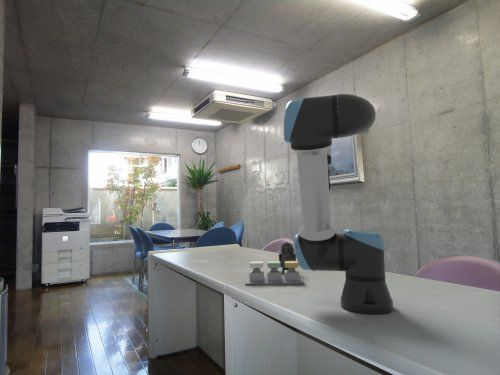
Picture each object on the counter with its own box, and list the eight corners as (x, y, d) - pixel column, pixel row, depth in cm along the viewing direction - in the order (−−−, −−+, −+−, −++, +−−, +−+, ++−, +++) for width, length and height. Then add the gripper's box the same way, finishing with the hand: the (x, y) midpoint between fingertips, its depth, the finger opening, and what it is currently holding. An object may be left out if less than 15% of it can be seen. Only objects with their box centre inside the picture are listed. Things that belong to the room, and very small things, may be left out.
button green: (280, 272, 141) (280, 261, 141) (280, 275, 135) (280, 263, 136) (267, 272, 141) (267, 261, 141) (267, 275, 135) (267, 263, 136)
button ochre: (297, 272, 140) (297, 260, 141) (298, 274, 135) (298, 262, 135) (285, 272, 140) (284, 261, 141) (285, 275, 135) (285, 263, 135)
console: (300, 277, 145) (300, 268, 145) (304, 285, 129) (304, 274, 129) (247, 277, 146) (247, 268, 147) (245, 285, 131) (245, 275, 131)
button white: (263, 272, 141) (263, 261, 141) (263, 275, 136) (262, 263, 136) (250, 272, 141) (250, 261, 142) (250, 275, 136) (249, 263, 136)
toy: (277, 274, 153) (277, 242, 155) (280, 271, 159) (279, 241, 160) (295, 274, 151) (294, 242, 152) (297, 272, 156) (296, 241, 158)
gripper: (309, 160, 147) (311, 208, 146) (317, 150, 124) (319, 207, 123) (326, 159, 147) (327, 208, 145) (336, 150, 124) (339, 207, 122)
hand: (323, 207), depth 134 cm, fingers open, 11 cm apart
